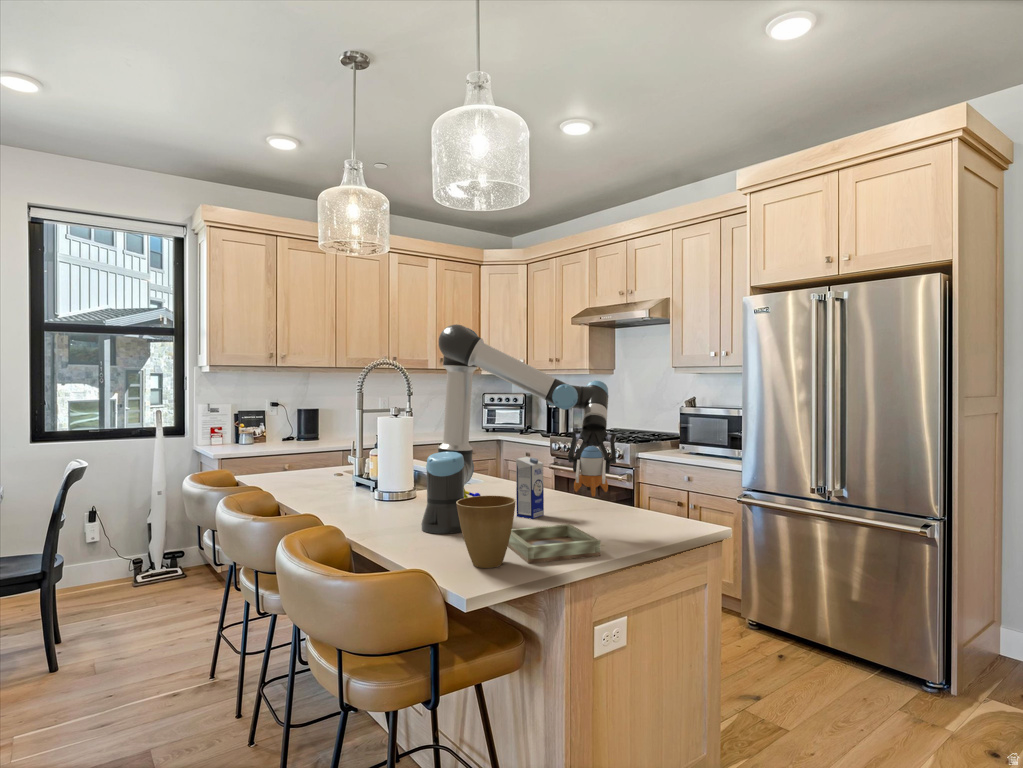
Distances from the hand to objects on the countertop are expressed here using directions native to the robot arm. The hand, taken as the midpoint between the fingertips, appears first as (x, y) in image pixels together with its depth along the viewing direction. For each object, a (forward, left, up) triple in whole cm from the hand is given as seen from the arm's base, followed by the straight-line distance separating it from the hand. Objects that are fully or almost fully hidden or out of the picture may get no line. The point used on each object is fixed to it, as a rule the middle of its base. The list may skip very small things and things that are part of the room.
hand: (590, 480), depth 176 cm
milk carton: (-6, +35, -17) cm, 39 cm away
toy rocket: (+2, +3, -5) cm, 6 cm away
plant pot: (-35, -14, -17) cm, 42 cm away
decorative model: (-25, +59, -17) cm, 66 cm away
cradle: (-15, -7, -17) cm, 24 cm away
